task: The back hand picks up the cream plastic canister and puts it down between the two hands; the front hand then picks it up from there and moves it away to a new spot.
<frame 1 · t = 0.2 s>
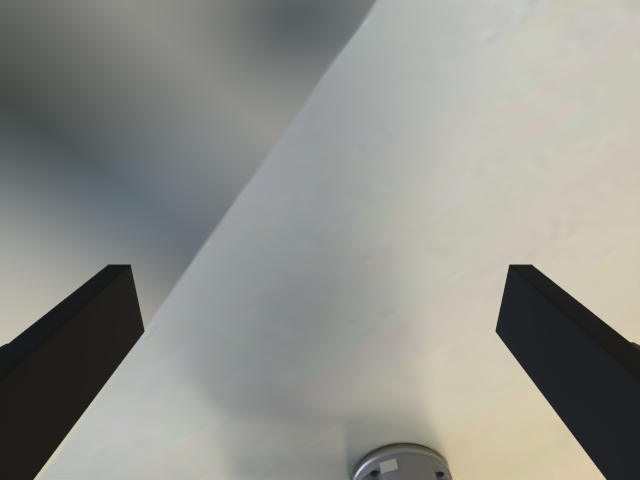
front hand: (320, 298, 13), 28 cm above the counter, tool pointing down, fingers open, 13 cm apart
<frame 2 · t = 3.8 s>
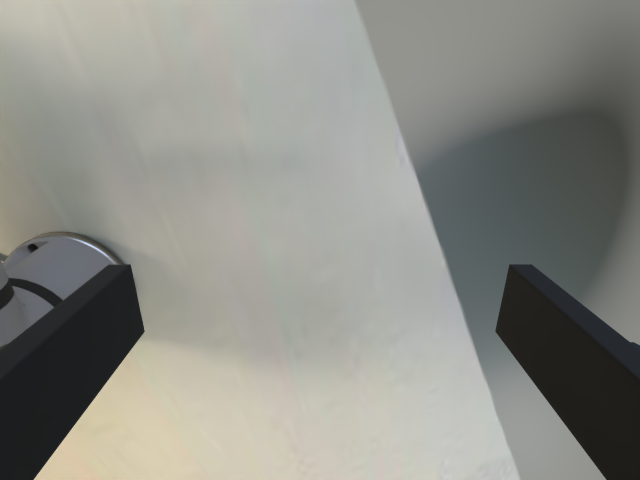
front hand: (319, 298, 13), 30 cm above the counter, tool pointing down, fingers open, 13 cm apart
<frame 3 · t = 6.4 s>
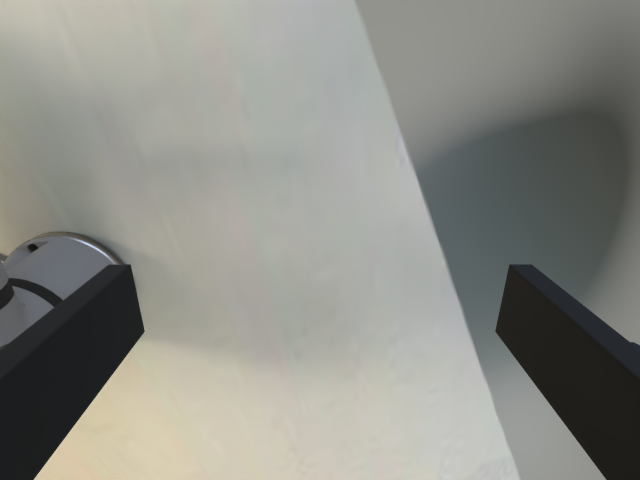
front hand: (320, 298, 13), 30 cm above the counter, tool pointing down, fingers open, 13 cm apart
when the back hand's fingers open (4 cm above the counter, at t = 9.5 s): canister drops 1 cm, on the counter.
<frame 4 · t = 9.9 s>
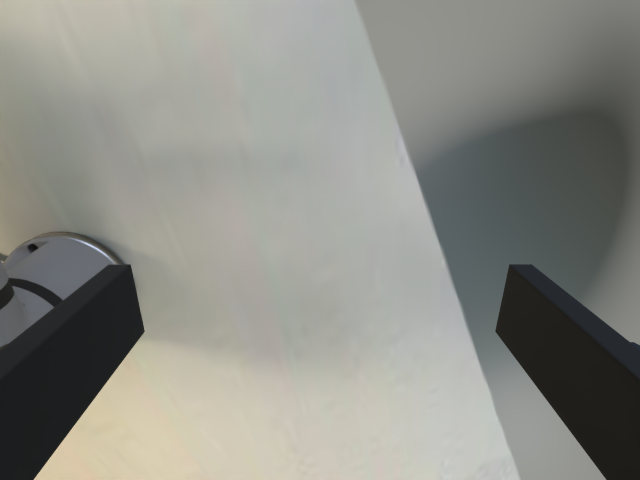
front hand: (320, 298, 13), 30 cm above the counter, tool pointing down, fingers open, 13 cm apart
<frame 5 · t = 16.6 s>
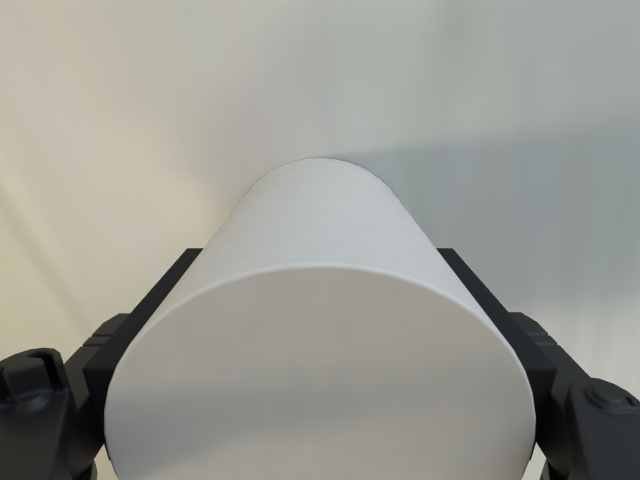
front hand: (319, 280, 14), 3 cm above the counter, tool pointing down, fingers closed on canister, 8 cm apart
canister: (319, 248, 17), on the counter, touching front hand
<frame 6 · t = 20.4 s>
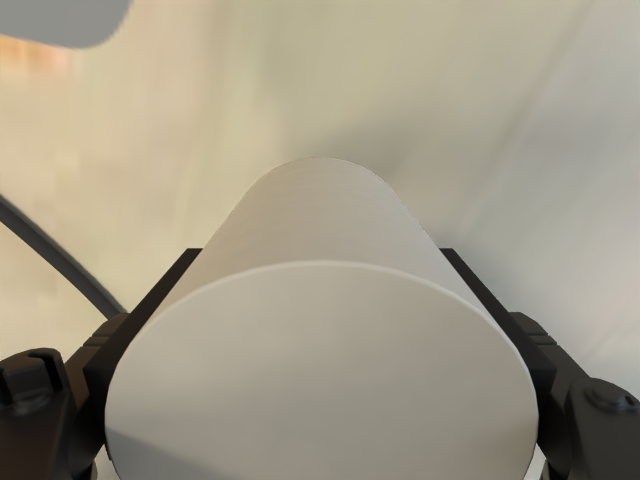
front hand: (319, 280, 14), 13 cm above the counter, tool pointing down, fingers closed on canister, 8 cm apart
canister: (320, 247, 17), point 10 cm above the counter, touching front hand
when the front hand's fingers open (4 cm above the counter, at t = 24.3 s): canister drops 1 cm, on the counter.
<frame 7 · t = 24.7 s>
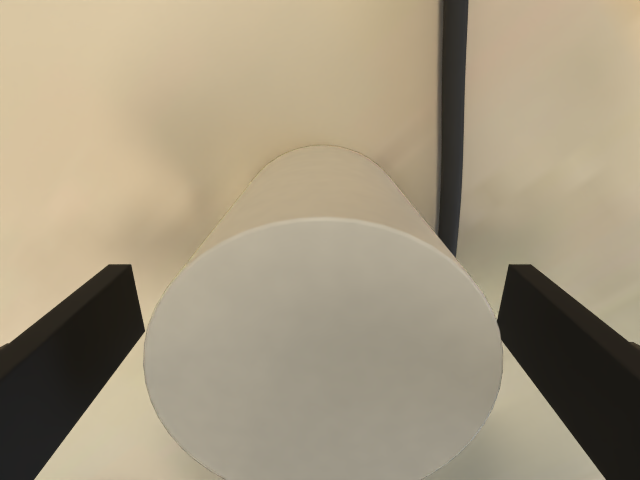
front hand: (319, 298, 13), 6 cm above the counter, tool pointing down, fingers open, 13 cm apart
canister: (322, 230, 19), on the counter
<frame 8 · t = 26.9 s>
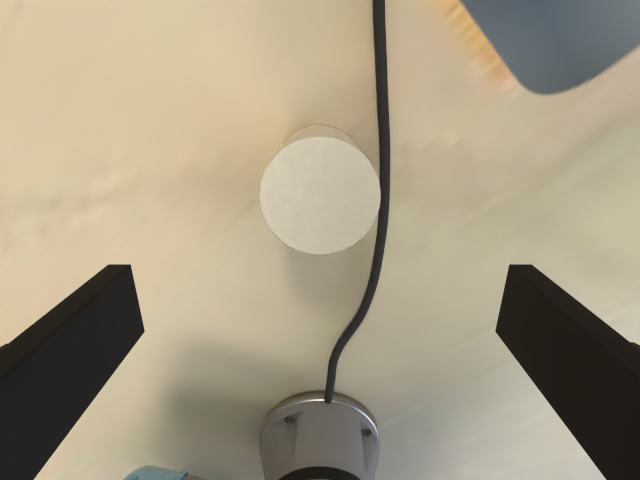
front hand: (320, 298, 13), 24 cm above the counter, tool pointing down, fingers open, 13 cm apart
canister: (319, 170, 35), on the counter
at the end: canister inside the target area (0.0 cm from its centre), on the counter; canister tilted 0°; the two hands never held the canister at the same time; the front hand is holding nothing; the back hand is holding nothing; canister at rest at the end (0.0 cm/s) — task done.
